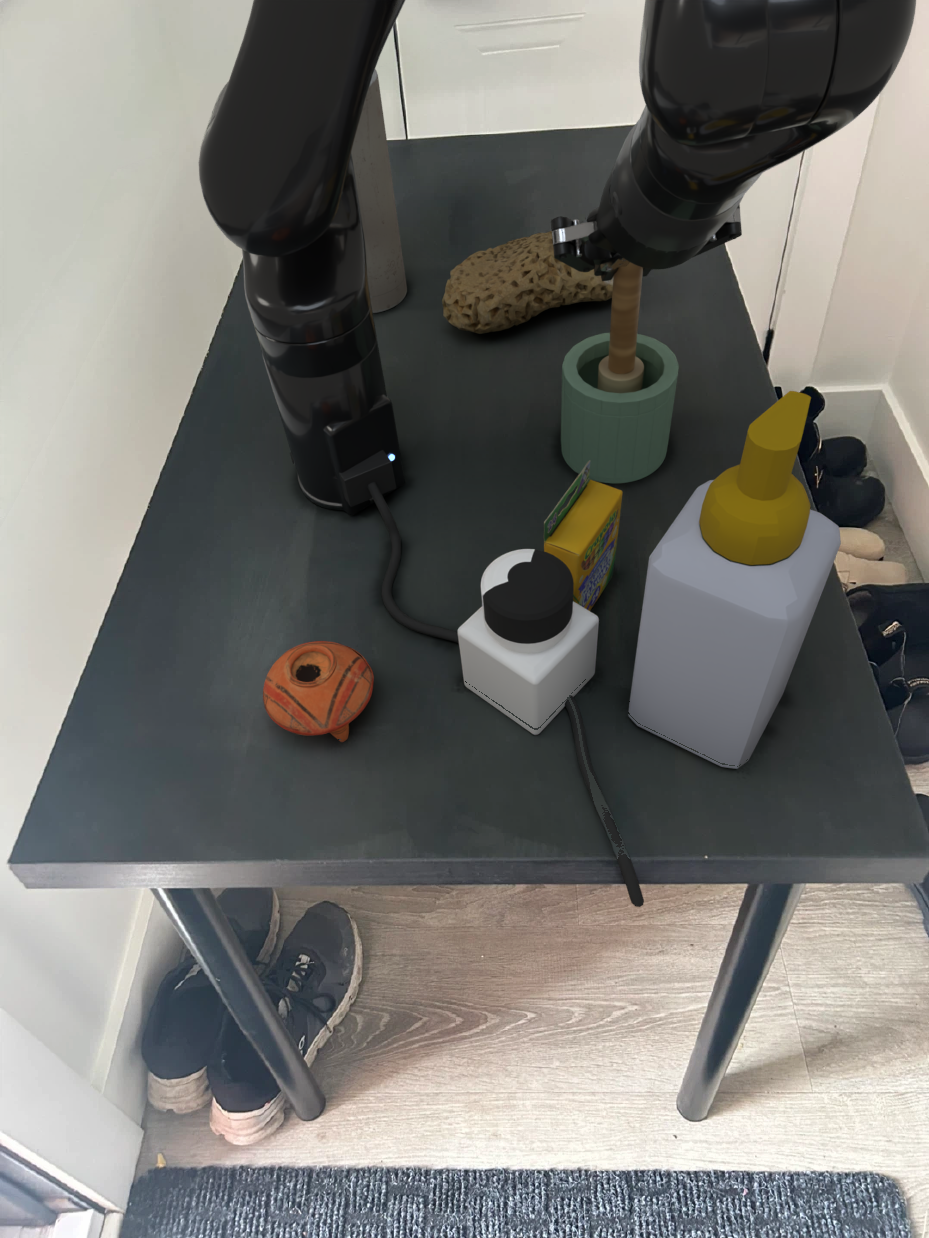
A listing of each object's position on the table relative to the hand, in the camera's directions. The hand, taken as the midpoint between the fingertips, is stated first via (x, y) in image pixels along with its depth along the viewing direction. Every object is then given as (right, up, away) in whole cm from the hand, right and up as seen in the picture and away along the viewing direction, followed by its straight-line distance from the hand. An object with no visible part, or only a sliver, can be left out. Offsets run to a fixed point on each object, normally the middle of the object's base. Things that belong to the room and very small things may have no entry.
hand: (621, 265), depth 70 cm
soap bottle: (+5, -34, -6) cm, 35 cm away
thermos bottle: (-23, +9, +30) cm, 39 cm away
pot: (-23, -35, -4) cm, 42 cm away
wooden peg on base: (+1, -10, +9) cm, 13 cm away
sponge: (-5, +6, +27) cm, 28 cm away
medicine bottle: (-8, -33, -3) cm, 34 cm away
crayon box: (-3, -27, +1) cm, 27 cm away
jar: (+1, -12, +12) cm, 17 cm away
